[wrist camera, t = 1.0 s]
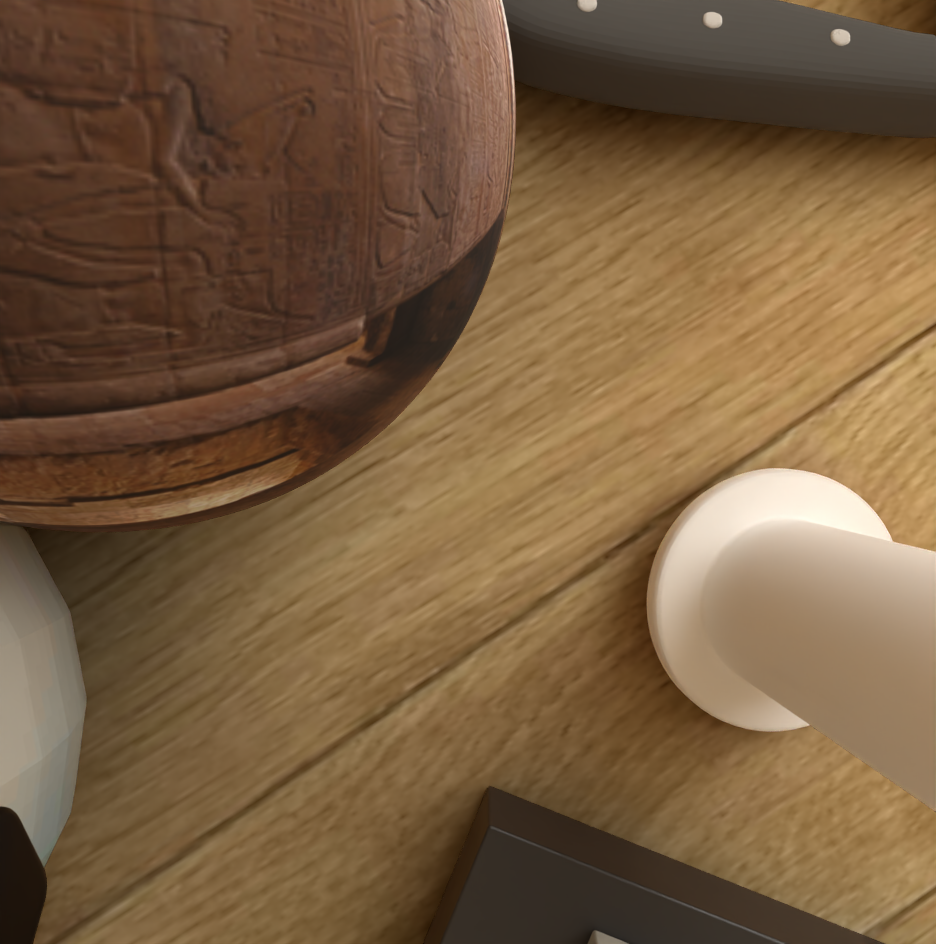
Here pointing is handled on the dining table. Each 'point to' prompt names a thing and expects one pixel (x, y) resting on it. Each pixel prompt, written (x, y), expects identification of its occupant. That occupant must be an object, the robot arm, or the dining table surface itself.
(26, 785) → the decorative ball
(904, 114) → the kitchen knife
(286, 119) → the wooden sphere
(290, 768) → the dining table surface
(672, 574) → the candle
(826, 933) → the scale
